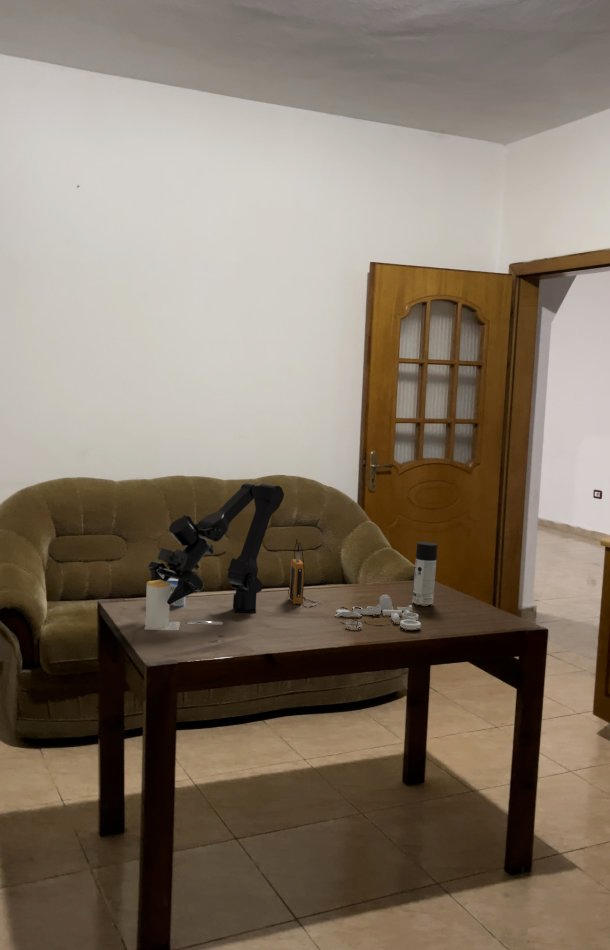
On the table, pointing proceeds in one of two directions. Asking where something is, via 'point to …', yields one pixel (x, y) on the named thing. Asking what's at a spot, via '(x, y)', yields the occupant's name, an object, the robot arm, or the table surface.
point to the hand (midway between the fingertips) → (157, 599)
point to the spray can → (424, 573)
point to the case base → (171, 626)
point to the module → (157, 604)
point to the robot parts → (386, 608)
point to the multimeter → (297, 580)
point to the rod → (205, 622)
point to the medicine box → (173, 585)
